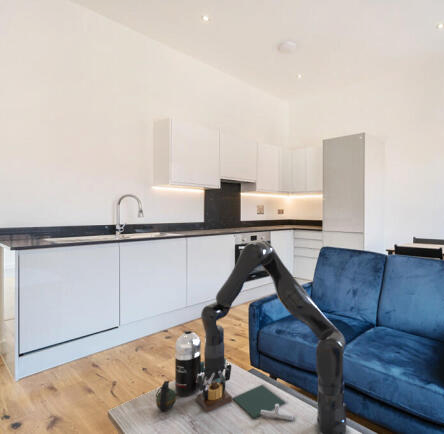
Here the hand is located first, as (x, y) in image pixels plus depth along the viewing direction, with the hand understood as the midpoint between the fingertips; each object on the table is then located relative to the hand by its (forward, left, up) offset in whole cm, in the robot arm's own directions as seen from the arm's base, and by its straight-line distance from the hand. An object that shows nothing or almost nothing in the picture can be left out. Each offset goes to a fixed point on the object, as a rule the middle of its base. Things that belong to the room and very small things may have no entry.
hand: (214, 394), depth 121 cm
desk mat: (-12, -13, -2) cm, 18 cm away
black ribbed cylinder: (+14, +5, -2) cm, 15 cm away
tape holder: (0, 0, -2) cm, 2 cm away
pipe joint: (-25, -12, -2) cm, 28 cm away
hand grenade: (+7, +16, -2) cm, 18 cm away
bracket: (+14, -6, -2) cm, 15 cm away
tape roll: (0, 0, 0) cm, 0 cm away
